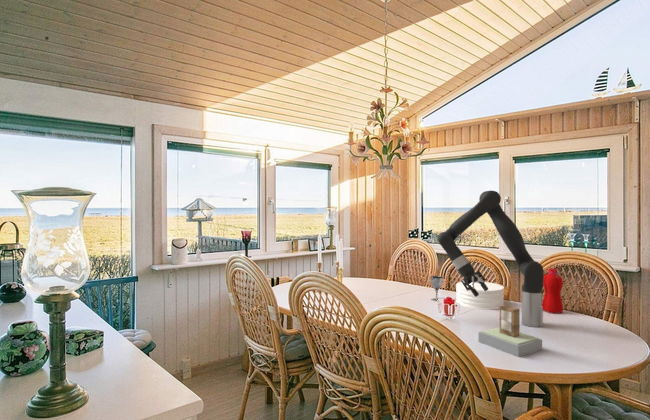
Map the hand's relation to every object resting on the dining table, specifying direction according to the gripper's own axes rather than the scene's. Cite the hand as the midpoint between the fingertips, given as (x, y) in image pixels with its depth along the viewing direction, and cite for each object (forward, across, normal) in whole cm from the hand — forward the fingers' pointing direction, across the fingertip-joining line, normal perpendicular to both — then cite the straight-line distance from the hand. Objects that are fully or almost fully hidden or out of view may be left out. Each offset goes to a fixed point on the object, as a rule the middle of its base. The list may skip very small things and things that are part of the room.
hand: (482, 293), depth 198 cm
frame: (+20, -15, -11) cm, 28 cm away
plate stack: (+6, +38, +38) cm, 54 cm away
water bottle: (+29, +54, +9) cm, 62 cm away
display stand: (+24, -16, -9) cm, 30 cm away
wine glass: (-10, +25, +54) cm, 61 cm away
